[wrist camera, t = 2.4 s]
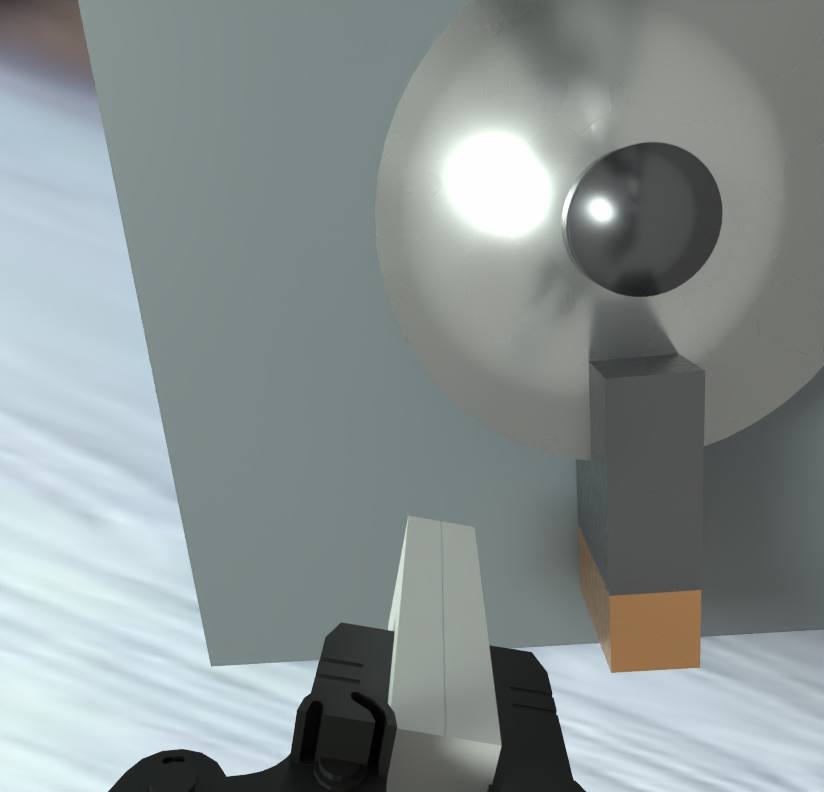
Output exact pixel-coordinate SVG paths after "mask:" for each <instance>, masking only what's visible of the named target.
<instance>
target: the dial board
mask: <svg viewBox="0 0 824 792" xmlns="http://www.w3.org/2000/svg"><path fill="white" fill-rule="evenodd" d="M471 1H472V0H78V2H79V7H80V12H81V17H82V22H83V27H84V32H85V37H86V42H87V47H88V52H89V57H90V62H91V67H92V72H93V77H94V82H95V87H96V92H97V97H98V102H99V107H100V112H101V117H102V122H103V127H104V132H105V137H106V142H107V147H108V152H109V157H110V162H111V167H112V173H113V178H114V183H115V188H116V193H117V198H118V203H119V208H120V213H121V218H122V223H123V228H124V233H125V238H126V243H127V248H128V253H129V258H130V263H131V268H132V273H133V278H134V283H135V288H136V293H137V298H138V303H139V308H140V313H141V318H142V323H143V328H144V333H145V338H146V343H147V348H148V353H149V358H150V363H151V368H152V373H153V378H154V383H155V388H156V393H157V398H158V403H159V408H160V413H161V418H162V423H163V428H164V433H165V438H166V443H167V448H168V453H169V458H170V463H171V468H172V473H173V478H174V483H175V488H176V493H177V498H178V503H179V508H180V513H181V518H182V523H183V528H184V533H185V538H186V543H187V548H188V553H189V558H190V563H191V568H192V573H193V578H194V583H195V588H196V593H197V598H198V603H199V608H200V613H201V618H202V623H203V628H204V633H205V638H206V643H207V648H208V653H209V658H210V663H211V666H225V665H242V664H258V663H275V662H291V661H308V660H320V656H321V653H322V649H323V645H324V641H325V637H326V636H327V635H328V634H329V633H330V632H331V631H332V630H334V629H335V628H336V627H337V626H338V625H339V624H340V623H341V622H342V623H348V624H354V625H360V626H366V627H372V628H378V629H384V630H388V625H389V618H390V613H391V608H392V602H393V597H394V591H395V586H396V580H397V575H398V569H399V564H400V558H401V553H402V547H403V542H404V536H405V531H406V525H407V520H408V516H413V517H419V518H425V519H431V520H437V521H443V522H449V523H454V524H460V525H466V526H472V527H475V534H476V542H477V551H478V559H479V567H480V575H481V583H482V591H483V599H484V607H485V615H486V623H487V631H488V639H489V645H491V646H497V647H503V648H522V647H539V646H555V645H571V644H588V643H600V641H599V638H598V636H597V633H596V630H595V627H594V625H593V622H592V619H591V617H590V614H589V611H588V609H587V606H586V603H585V600H584V598H583V595H582V592H581V590H580V569H579V540H578V510H577V480H576V459H572V458H568V457H564V456H559V455H555V454H551V453H547V452H543V451H540V450H537V449H535V448H532V447H529V446H527V445H524V444H521V443H519V442H516V441H514V440H512V439H510V438H508V437H506V436H504V435H503V434H501V433H499V432H497V431H495V430H493V429H491V428H489V427H488V426H486V425H485V424H483V423H482V422H481V421H479V420H478V419H476V418H475V417H474V416H472V415H471V414H469V413H468V412H467V411H465V410H464V409H463V408H462V407H460V406H459V405H458V404H457V403H456V402H455V401H454V400H453V399H452V398H451V397H450V396H449V395H448V394H446V393H445V392H444V391H443V390H442V389H441V388H440V387H439V385H438V384H437V383H436V382H435V381H434V379H433V378H432V377H431V376H430V375H429V373H428V372H427V371H426V370H425V368H424V367H423V366H422V365H421V363H420V362H419V360H418V359H417V357H416V355H415V354H414V352H413V351H412V349H411V347H410V346H409V344H408V343H407V341H406V339H405V338H404V335H403V333H402V331H401V329H400V327H399V324H398V322H397V320H396V318H395V316H394V314H393V311H392V309H391V306H390V303H389V300H388V296H387V293H386V290H385V286H384V283H383V280H382V276H381V270H380V264H379V258H378V253H377V247H376V229H375V201H376V190H377V178H378V172H379V167H380V162H381V158H382V153H383V148H384V144H385V140H386V137H387V134H388V131H389V128H390V125H391V122H392V119H393V117H394V114H395V111H396V108H397V105H398V103H399V101H400V99H401V97H402V95H403V93H404V91H405V89H406V87H407V85H408V83H409V81H410V79H411V77H412V75H413V73H414V71H415V70H416V68H417V67H418V65H419V64H420V62H421V61H422V59H423V58H424V56H425V55H426V53H427V52H428V50H429V49H430V47H431V46H432V44H433V43H434V41H435V40H436V39H437V38H438V36H439V35H440V34H441V33H442V32H443V31H444V29H445V28H446V27H447V26H448V25H449V24H450V22H451V21H452V20H453V19H454V18H455V17H456V16H457V14H458V13H459V12H460V11H461V10H462V9H463V8H464V7H466V6H467V5H468V4H469V3H470V2H471ZM819 629H824V366H823V367H822V368H821V369H820V370H819V371H818V372H817V373H816V375H815V376H814V377H813V378H812V379H811V380H810V381H809V382H808V383H807V384H806V385H804V386H803V387H802V388H801V389H800V390H799V391H797V392H796V393H795V394H794V395H793V396H792V397H790V398H789V399H788V400H787V401H786V402H785V403H784V404H782V405H781V406H779V407H778V408H776V409H775V410H773V411H772V412H770V413H769V414H767V415H766V416H764V417H763V418H761V419H760V420H759V421H757V422H756V423H754V424H752V425H750V426H748V427H746V428H744V429H742V430H740V431H738V432H737V433H735V434H733V435H731V436H729V437H727V438H725V439H722V440H719V441H717V442H714V443H712V444H709V445H706V446H704V471H703V525H702V579H701V633H700V637H703V636H720V635H736V634H753V633H769V632H786V631H802V630H819Z"/></svg>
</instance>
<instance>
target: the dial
mask: <svg viewBox="0 0 824 792" xmlns="http://www.w3.org/2000/svg"><path fill="white" fill-rule="evenodd" d="M375 229H376V247H377V253H378V258H379V264H380V270H381V276H382V280H383V283H384V286H385V290H386V293H387V296H388V300H389V303H390V306H391V309H392V311H393V314H394V316H395V318H396V320H397V322H398V324H399V327H400V329H401V331H402V333H403V335H404V338H405V339H406V341H407V343H408V344H409V346H410V347H411V349H412V351H413V352H414V354H415V355H416V357H417V359H418V360H419V362H420V363H421V365H422V366H423V367H424V368H425V370H426V371H427V372H428V373H429V375H430V376H431V377H432V378H433V379H434V381H435V382H436V383H437V384H438V385H439V387H440V388H441V389H442V390H443V391H444V392H445V393H446V394H448V395H449V396H450V397H451V398H452V399H453V400H454V401H455V402H456V403H457V404H458V405H459V406H460V407H462V408H463V409H464V410H465V411H467V412H468V413H469V414H471V415H472V416H474V417H475V418H476V419H478V420H479V421H481V422H482V423H483V424H485V425H486V426H488V427H489V428H491V429H493V430H495V431H497V432H499V433H501V434H503V435H504V436H506V437H508V438H510V439H512V440H514V441H516V442H519V443H521V444H524V445H527V446H529V447H532V448H535V449H537V450H540V451H543V452H547V453H551V454H555V455H559V456H564V457H568V458H572V459H576V480H577V510H578V540H579V569H580V590H581V592H582V595H583V598H584V600H585V603H586V606H587V609H588V611H589V614H590V617H591V619H592V622H593V625H594V627H595V630H596V633H597V636H598V638H599V641H600V644H601V646H602V649H603V652H604V654H605V657H606V660H607V662H608V665H609V668H610V671H611V673H615V672H632V671H649V670H666V669H683V668H700V633H701V579H702V525H703V471H704V446H706V445H709V444H712V443H714V442H717V441H719V440H722V439H725V438H727V437H729V436H731V435H733V434H735V433H737V432H738V431H740V430H742V429H744V428H746V427H748V426H750V425H752V424H754V423H756V422H757V421H759V420H760V419H761V418H763V417H764V416H766V415H767V414H769V413H770V412H772V411H773V410H775V409H776V408H778V407H779V406H781V405H782V404H784V403H785V402H786V401H787V400H788V399H789V398H790V397H792V396H793V395H794V394H795V393H796V392H797V391H799V390H800V389H801V388H802V387H803V386H804V385H806V384H807V383H808V382H809V381H810V380H811V379H812V378H813V377H814V376H815V375H816V373H817V372H818V371H819V370H820V369H821V368H822V367H823V366H824V0H472V1H471V2H470V3H469V4H468V5H467V6H466V7H464V8H463V9H462V10H461V11H460V12H459V13H458V14H457V16H456V17H455V18H454V19H453V20H452V21H451V22H450V24H449V25H448V26H447V27H446V28H445V29H444V31H443V32H442V33H441V34H440V35H439V36H438V38H437V39H436V40H435V41H434V43H433V44H432V46H431V47H430V49H429V50H428V52H427V53H426V55H425V56H424V58H423V59H422V61H421V62H420V64H419V65H418V67H417V68H416V70H415V71H414V73H413V75H412V77H411V79H410V81H409V83H408V85H407V87H406V89H405V91H404V93H403V95H402V97H401V99H400V101H399V103H398V105H397V108H396V111H395V114H394V117H393V119H392V122H391V125H390V128H389V131H388V134H387V137H386V140H385V144H384V148H383V153H382V158H381V162H380V167H379V172H378V178H377V190H376V201H375Z"/></svg>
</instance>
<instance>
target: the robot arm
mask: <svg viewBox="0 0 824 792" xmlns="http://www.w3.org/2000/svg"><path fill="white" fill-rule="evenodd" d="M108 792H586V791H585V790H584V789H583V788H582V787H581V786H580V785H579V784H578V783H577V782H576V781H574V780H573V777H572V773H571V768H570V764H569V760H568V756H567V752H566V748H565V744H564V740H563V735H562V731H561V727H560V723H559V719H558V715H556V707H555V702H554V698H553V697H552V690H551V686H550V682H549V678H548V674H547V671H546V670H545V669H544V668H543V666H542V665H541V664H540V662H539V661H538V660H537V659H536V657H535V656H534V655H533V653H532V652H527V651H521V650H515V649H509V648H503V647H497V646H491V645H489V639H488V631H487V623H486V615H485V607H484V599H483V591H482V583H481V575H480V567H479V559H478V551H477V542H476V534H475V527H472V526H466V525H460V524H454V523H449V522H443V521H437V520H431V519H425V518H419V517H413V516H408V520H407V525H406V531H405V536H404V542H403V547H402V553H401V558H400V564H399V569H398V575H397V580H396V586H395V591H394V597H393V602H392V608H391V613H390V618H389V625H388V630H384V629H378V628H372V627H366V626H360V625H354V624H348V623H342V622H341V623H340V624H339V625H338V626H337V627H336V628H335V629H334V630H332V631H331V632H330V633H329V634H328V635H327V636H326V637H325V641H324V645H323V649H322V653H321V656H320V661H319V664H318V668H317V672H316V677H315V680H314V684H313V687H312V691H311V694H309V695H308V696H306V697H305V698H304V699H303V701H302V703H301V705H300V706H299V708H298V710H297V715H296V722H295V729H294V735H293V742H292V749H291V753H290V755H289V756H288V757H287V758H286V759H284V760H283V761H281V762H280V763H279V764H277V765H276V766H273V767H271V768H269V769H266V770H264V771H261V772H257V773H252V774H247V775H238V776H229V777H226V775H225V774H224V772H223V771H222V769H221V768H220V766H219V765H218V763H217V762H216V761H214V760H213V759H211V758H209V757H208V756H206V755H204V754H203V753H200V752H195V751H190V750H185V749H179V750H169V751H161V752H159V753H156V754H154V755H151V756H149V757H146V758H143V759H142V760H140V761H139V762H138V763H137V764H135V765H134V766H133V767H132V768H130V769H129V770H128V771H126V773H125V774H124V775H123V776H122V777H121V778H120V779H119V780H118V781H117V782H116V784H115V785H114V786H113V787H112V788H111V789H110V790H109V791H108Z"/></svg>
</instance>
